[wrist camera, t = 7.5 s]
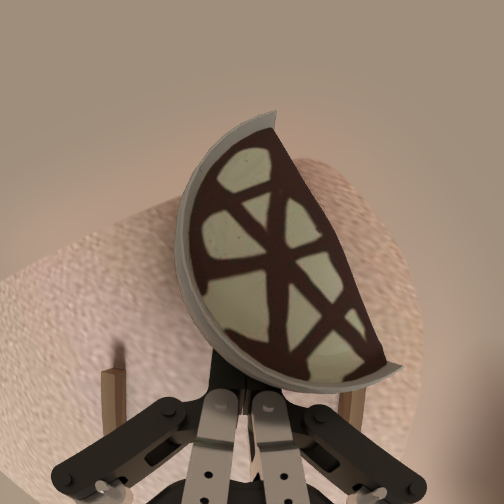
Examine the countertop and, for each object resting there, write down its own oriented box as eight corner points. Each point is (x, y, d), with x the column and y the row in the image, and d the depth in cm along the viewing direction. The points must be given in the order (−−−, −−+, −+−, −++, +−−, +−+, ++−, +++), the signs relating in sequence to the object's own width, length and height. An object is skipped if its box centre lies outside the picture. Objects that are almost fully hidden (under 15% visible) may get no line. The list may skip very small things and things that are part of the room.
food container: (172, 230, 19) (129, 144, 10) (252, 200, 20) (270, 102, 11) (239, 395, 16) (251, 463, 7) (322, 357, 18) (408, 379, 8)
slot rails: (116, 452, 14) (106, 462, 12) (113, 368, 16) (101, 371, 14) (342, 463, 15) (352, 473, 13) (353, 381, 17) (365, 386, 15)
